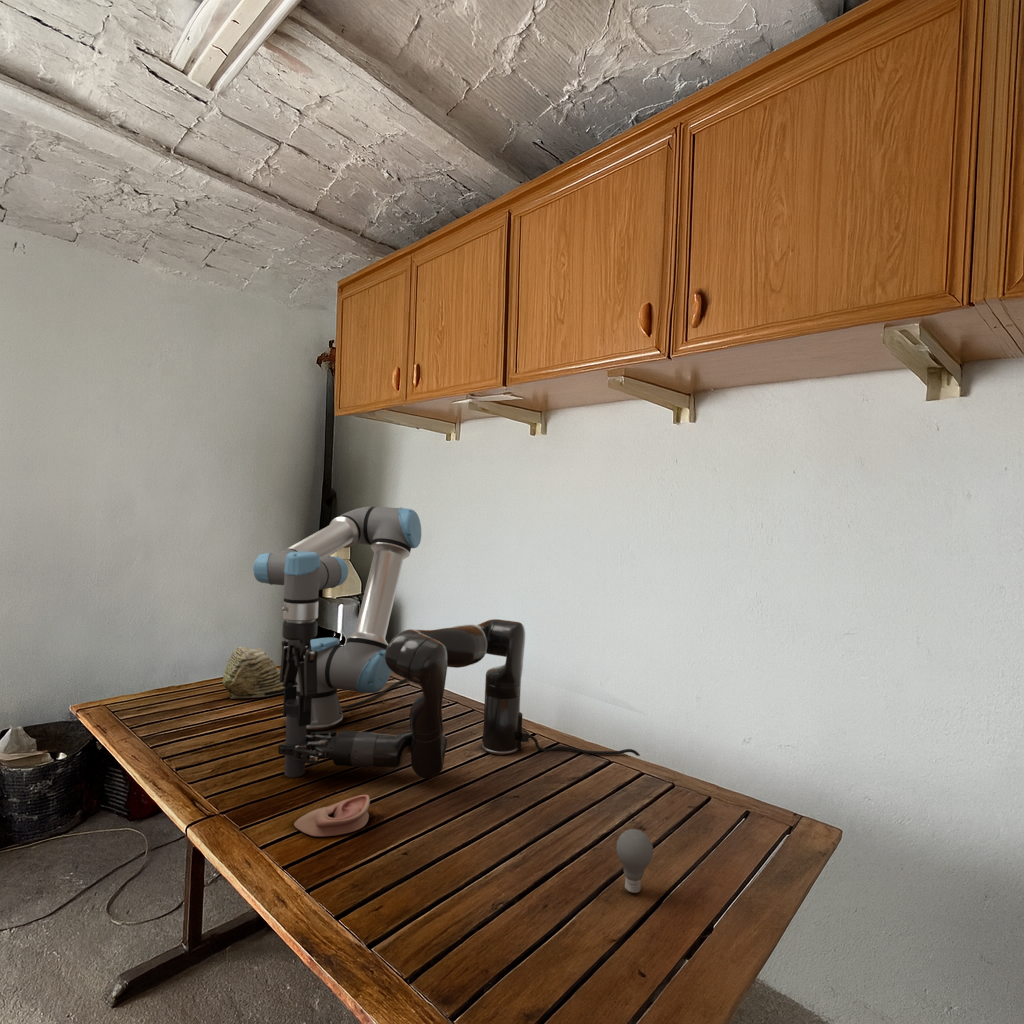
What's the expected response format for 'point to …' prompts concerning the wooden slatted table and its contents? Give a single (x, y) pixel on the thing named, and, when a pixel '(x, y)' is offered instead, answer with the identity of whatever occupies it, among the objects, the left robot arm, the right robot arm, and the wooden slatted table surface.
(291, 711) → the lid
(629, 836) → the light bulb
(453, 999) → the wooden slatted table surface
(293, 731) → the dark grey cylinder
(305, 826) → the anatomical model
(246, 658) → the fossil
